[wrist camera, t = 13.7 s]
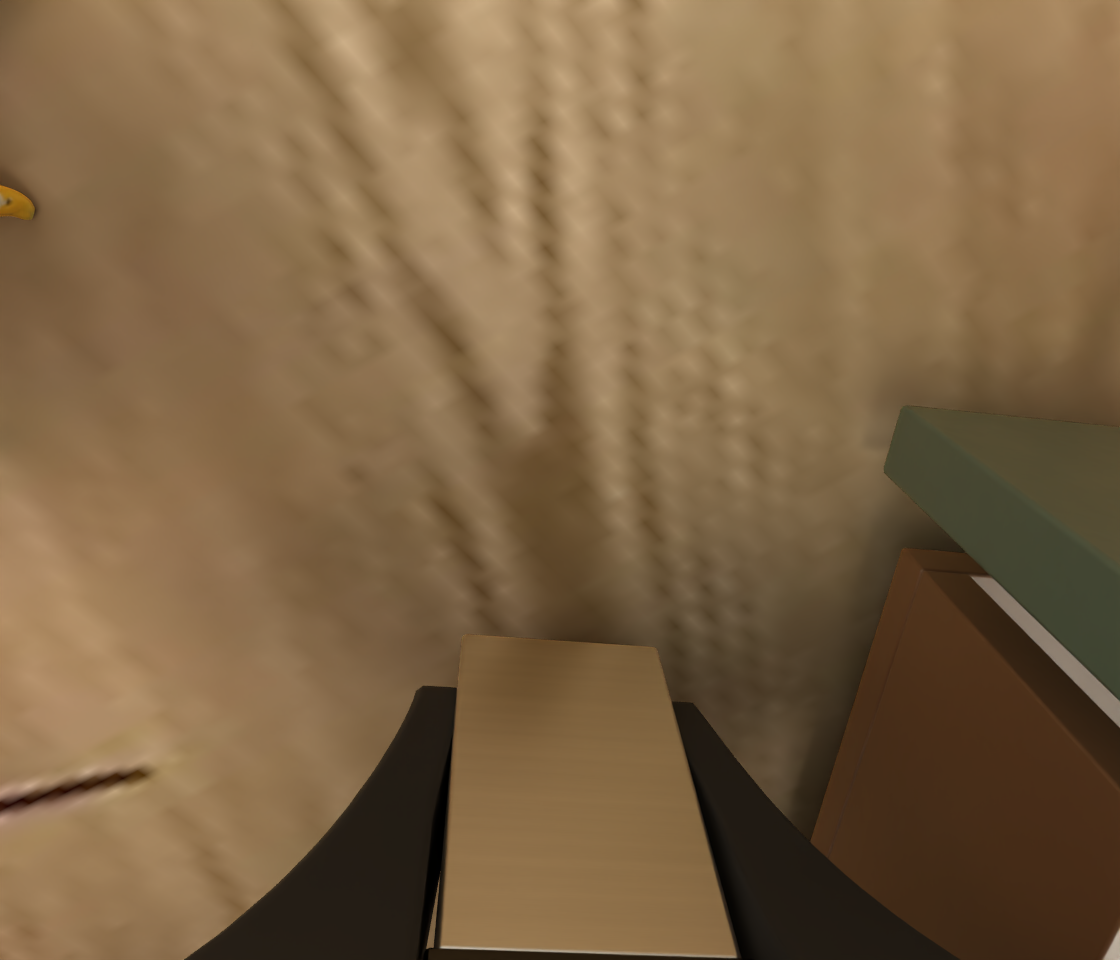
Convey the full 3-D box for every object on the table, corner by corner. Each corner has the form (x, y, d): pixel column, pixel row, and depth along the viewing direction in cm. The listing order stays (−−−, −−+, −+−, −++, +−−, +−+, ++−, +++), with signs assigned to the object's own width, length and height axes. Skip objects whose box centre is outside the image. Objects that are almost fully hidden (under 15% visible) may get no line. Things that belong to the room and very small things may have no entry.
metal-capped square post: (442, 789, 16) (402, 1199, 10) (456, 625, 14) (419, 990, 8) (633, 799, 16) (704, 1200, 10) (664, 640, 15) (769, 1000, 9)
